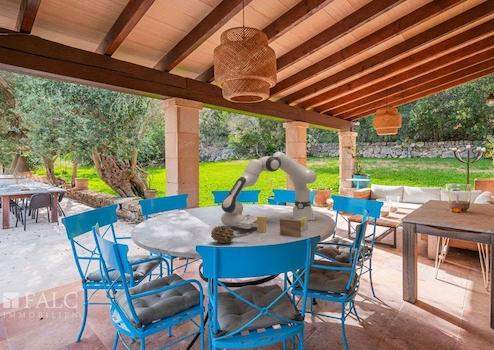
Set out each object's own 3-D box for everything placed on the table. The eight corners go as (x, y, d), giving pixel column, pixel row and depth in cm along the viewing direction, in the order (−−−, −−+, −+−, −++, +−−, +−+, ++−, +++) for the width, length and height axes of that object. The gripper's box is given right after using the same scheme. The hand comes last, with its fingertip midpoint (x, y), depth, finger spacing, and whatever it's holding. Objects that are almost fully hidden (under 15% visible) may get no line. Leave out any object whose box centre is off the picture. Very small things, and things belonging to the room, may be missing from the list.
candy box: (305, 228, 192) (305, 216, 191) (307, 229, 190) (308, 217, 190) (292, 234, 179) (292, 221, 178) (295, 234, 178) (295, 221, 177)
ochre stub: (259, 230, 187) (259, 215, 186) (266, 231, 184) (266, 216, 184) (257, 231, 184) (257, 216, 183) (264, 232, 182) (264, 217, 181)
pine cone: (210, 246, 156) (210, 228, 156) (211, 241, 166) (211, 224, 165) (250, 244, 159) (250, 227, 158) (248, 239, 168) (248, 223, 167)
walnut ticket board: (282, 233, 180) (282, 218, 179) (300, 236, 174) (300, 219, 174) (280, 235, 176) (280, 219, 175) (298, 237, 171) (298, 221, 170)
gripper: (235, 220, 180) (255, 222, 174) (250, 214, 198) (268, 215, 192) (235, 229, 181) (255, 232, 174) (250, 222, 199) (268, 225, 193)
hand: (262, 223), depth 183 cm, fingers open, 8 cm apart
